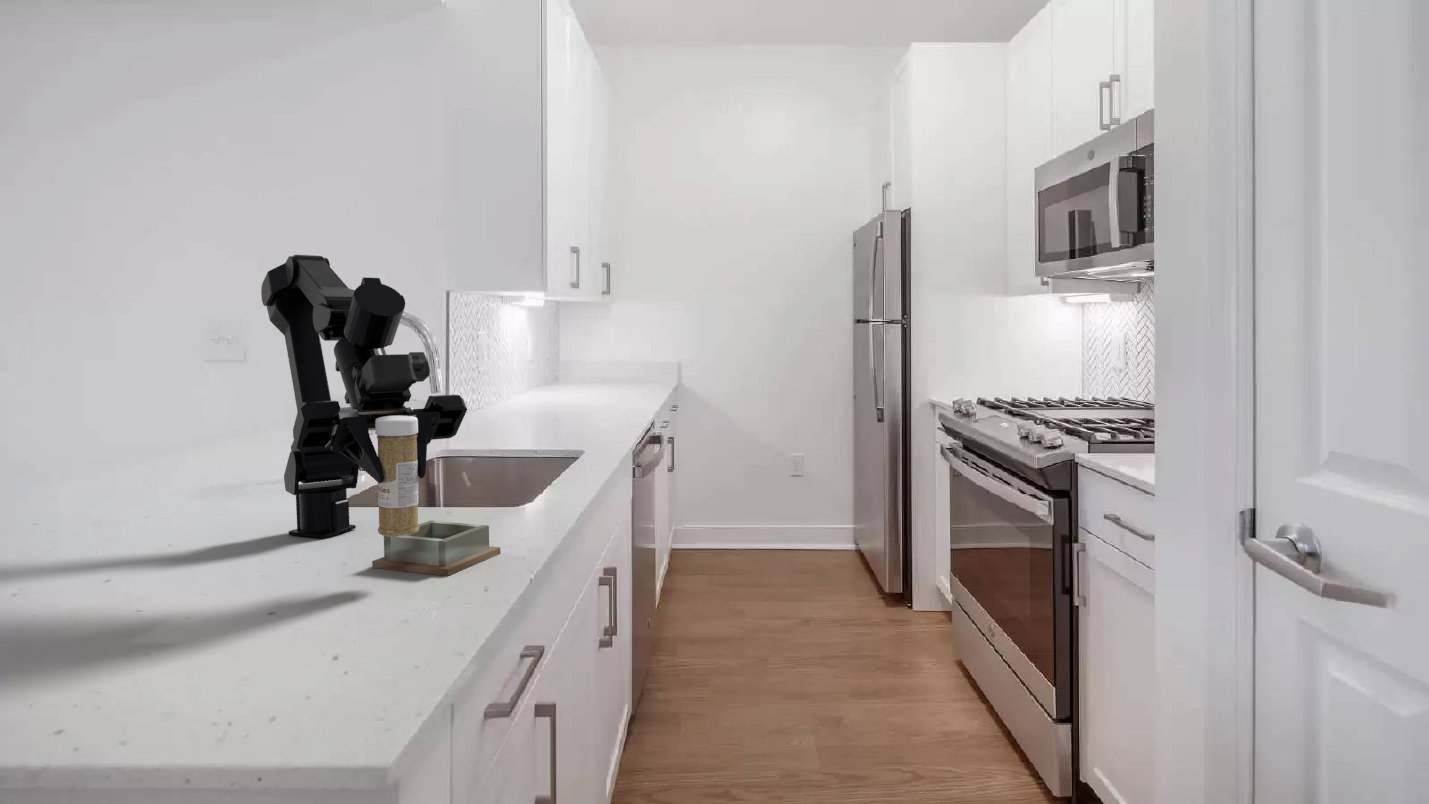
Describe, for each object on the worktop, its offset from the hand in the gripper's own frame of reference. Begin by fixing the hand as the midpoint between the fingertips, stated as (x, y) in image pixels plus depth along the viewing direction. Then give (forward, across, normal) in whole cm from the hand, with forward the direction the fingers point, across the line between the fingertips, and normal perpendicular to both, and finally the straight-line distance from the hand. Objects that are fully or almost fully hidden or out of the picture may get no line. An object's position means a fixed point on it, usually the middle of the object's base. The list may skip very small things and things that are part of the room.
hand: (402, 478), depth 98 cm
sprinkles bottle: (+4, 0, +6) cm, 7 cm away
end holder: (+4, +7, +14) cm, 16 cm away
